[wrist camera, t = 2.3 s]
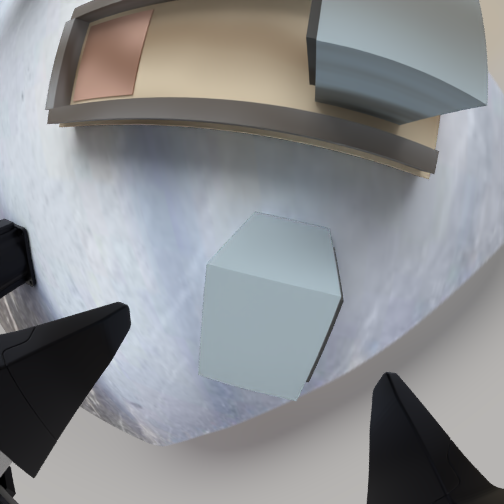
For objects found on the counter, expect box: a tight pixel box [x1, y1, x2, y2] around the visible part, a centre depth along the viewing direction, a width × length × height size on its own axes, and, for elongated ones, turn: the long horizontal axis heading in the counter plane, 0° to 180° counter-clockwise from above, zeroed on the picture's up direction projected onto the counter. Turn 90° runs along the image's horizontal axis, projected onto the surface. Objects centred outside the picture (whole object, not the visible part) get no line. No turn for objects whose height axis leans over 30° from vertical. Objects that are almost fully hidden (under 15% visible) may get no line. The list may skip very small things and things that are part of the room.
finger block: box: [198, 212, 343, 401], centre depth 12 cm, size 5×4×7 cm
